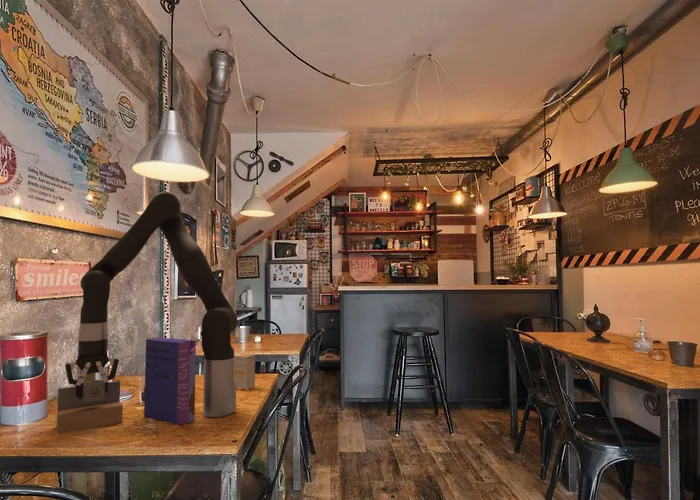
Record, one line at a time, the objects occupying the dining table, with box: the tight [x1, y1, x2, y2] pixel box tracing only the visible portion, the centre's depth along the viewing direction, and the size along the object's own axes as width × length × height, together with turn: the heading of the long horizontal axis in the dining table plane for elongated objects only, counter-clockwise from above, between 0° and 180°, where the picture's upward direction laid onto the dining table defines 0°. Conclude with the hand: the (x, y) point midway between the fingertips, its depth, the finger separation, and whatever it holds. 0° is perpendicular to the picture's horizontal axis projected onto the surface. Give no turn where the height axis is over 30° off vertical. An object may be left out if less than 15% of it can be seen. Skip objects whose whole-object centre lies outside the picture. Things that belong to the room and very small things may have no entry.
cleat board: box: [56, 380, 124, 435], centre depth 127 cm, size 16×7×11 cm, turn 126°
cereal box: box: [143, 337, 197, 426], centre depth 132 cm, size 17×5×24 cm, turn 59°
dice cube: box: [81, 379, 105, 403], centre depth 126 cm, size 5×5×5 cm
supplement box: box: [234, 353, 256, 391], centre depth 169 cm, size 8×5×13 cm, turn 58°
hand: (91, 396), depth 127 cm, fingers closed on dice cube, 5 cm apart
